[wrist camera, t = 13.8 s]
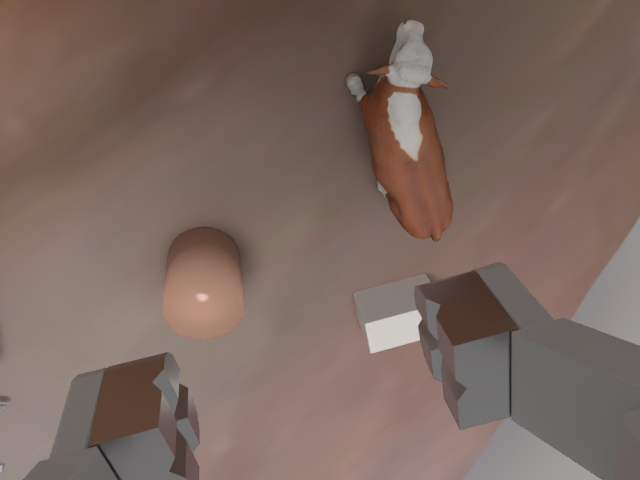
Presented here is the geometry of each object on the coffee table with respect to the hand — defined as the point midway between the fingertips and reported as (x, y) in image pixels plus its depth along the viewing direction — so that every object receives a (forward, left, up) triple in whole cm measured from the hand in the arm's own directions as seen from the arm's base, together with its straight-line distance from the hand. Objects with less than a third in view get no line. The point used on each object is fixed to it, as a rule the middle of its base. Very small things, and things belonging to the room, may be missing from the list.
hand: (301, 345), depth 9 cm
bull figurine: (-8, +7, -27) cm, 29 cm away
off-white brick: (-7, +22, -27) cm, 36 cm away
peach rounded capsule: (+6, +14, -27) cm, 31 cm away
